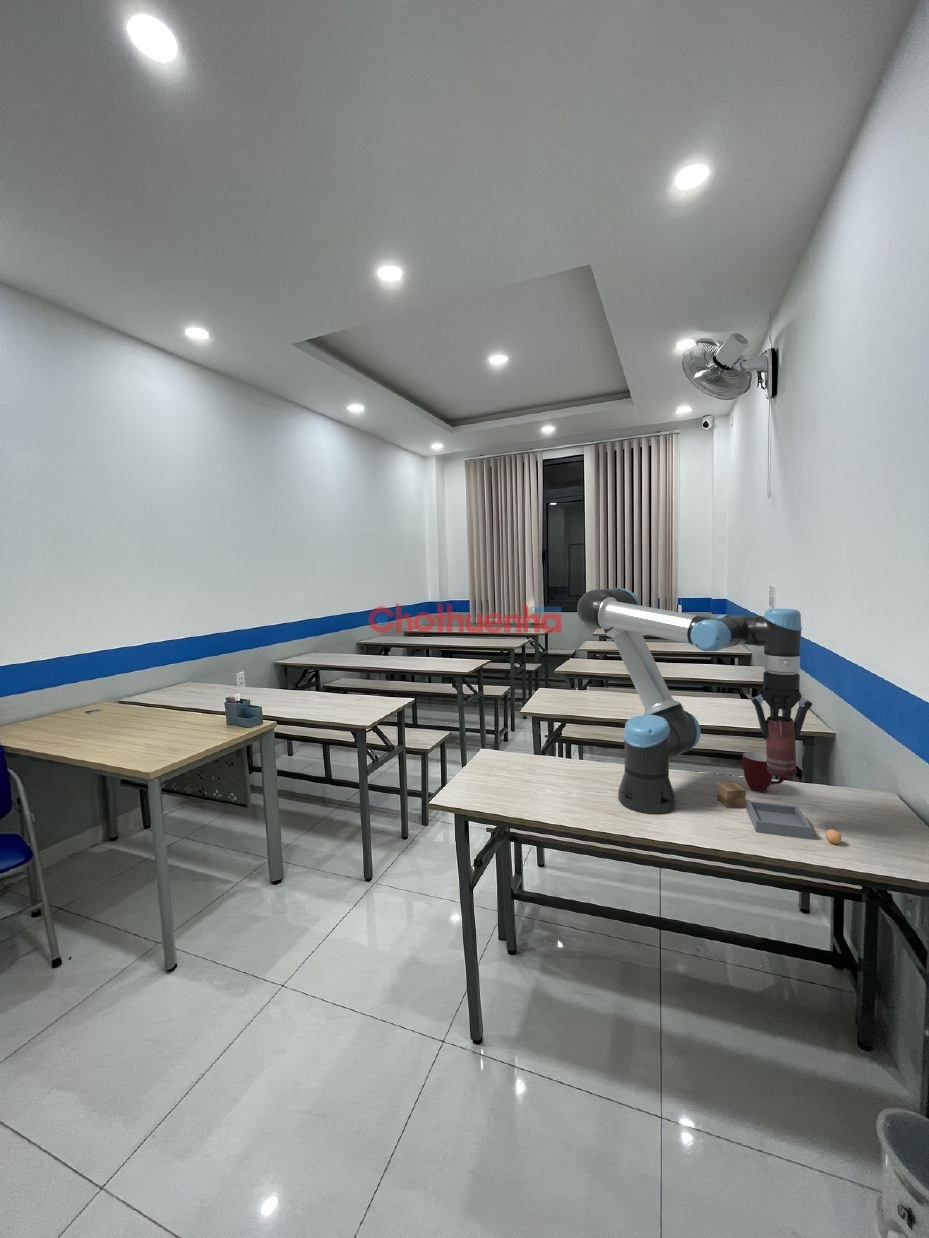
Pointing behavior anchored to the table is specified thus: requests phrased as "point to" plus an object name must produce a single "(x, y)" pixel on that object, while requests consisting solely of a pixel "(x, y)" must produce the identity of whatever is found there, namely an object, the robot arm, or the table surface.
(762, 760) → the mug
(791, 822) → the tray
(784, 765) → the can
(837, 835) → the rubber ball
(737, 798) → the walnut block
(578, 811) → the table surface
